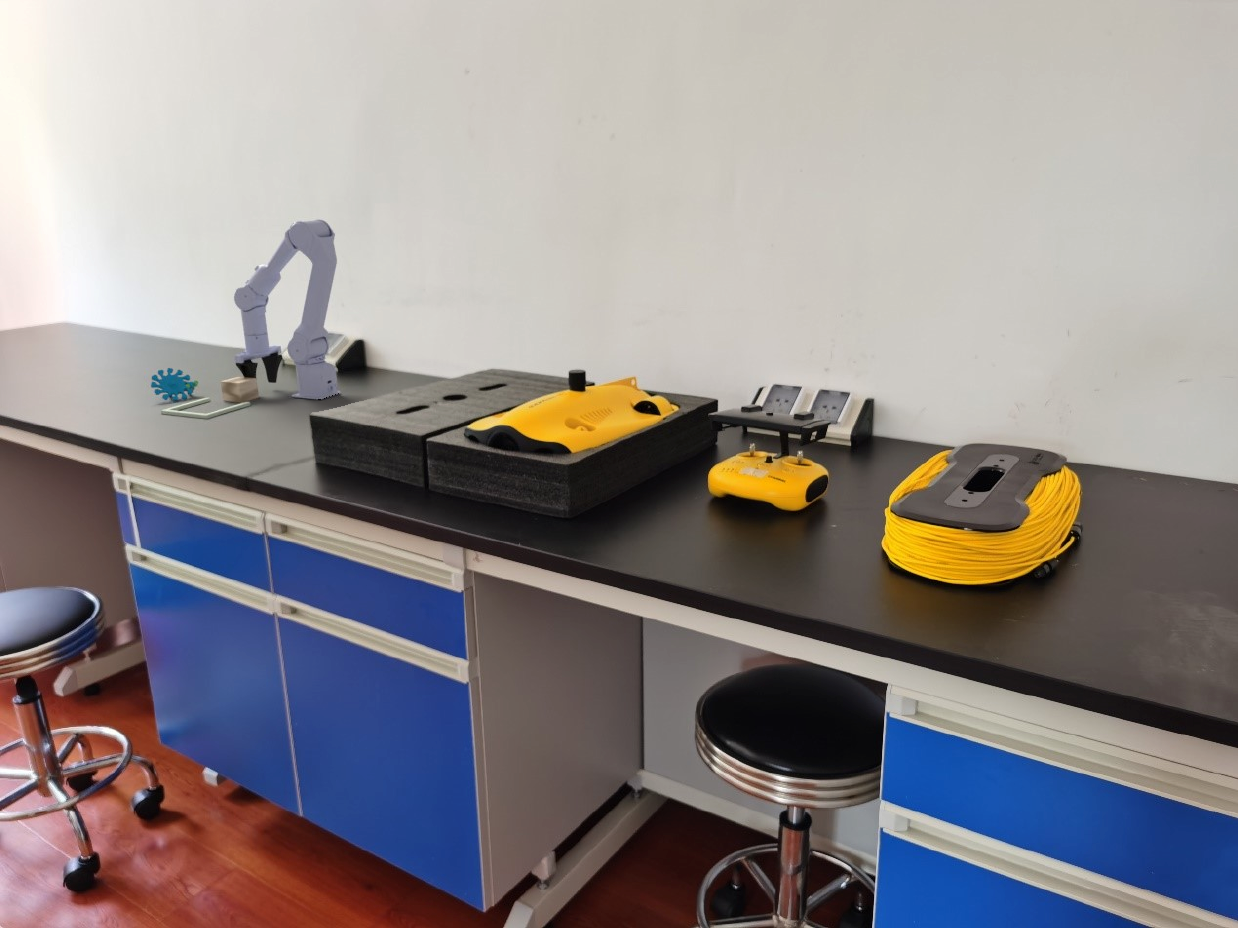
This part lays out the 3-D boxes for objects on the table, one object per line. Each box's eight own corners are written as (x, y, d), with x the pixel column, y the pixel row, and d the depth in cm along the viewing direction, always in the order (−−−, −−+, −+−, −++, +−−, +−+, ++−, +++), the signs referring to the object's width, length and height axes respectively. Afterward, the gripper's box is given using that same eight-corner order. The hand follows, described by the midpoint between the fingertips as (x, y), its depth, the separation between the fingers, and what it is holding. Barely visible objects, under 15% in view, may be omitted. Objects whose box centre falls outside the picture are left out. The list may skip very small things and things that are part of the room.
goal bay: (250, 405, 225) (250, 402, 225) (206, 418, 213) (206, 415, 212) (206, 400, 230) (206, 397, 230) (161, 413, 218) (160, 410, 217)
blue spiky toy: (154, 398, 226) (148, 366, 230) (151, 412, 230) (146, 379, 234) (201, 398, 232) (195, 366, 236) (198, 411, 236) (192, 379, 240)
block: (259, 397, 233) (256, 378, 232) (241, 402, 228) (238, 383, 226) (241, 395, 235) (238, 376, 234) (223, 400, 230) (220, 381, 229)
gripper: (263, 328, 242) (270, 378, 246) (222, 337, 229) (229, 389, 233) (284, 330, 239) (291, 380, 243) (244, 338, 226) (251, 392, 230)
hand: (262, 385), depth 238 cm, fingers open, 7 cm apart
